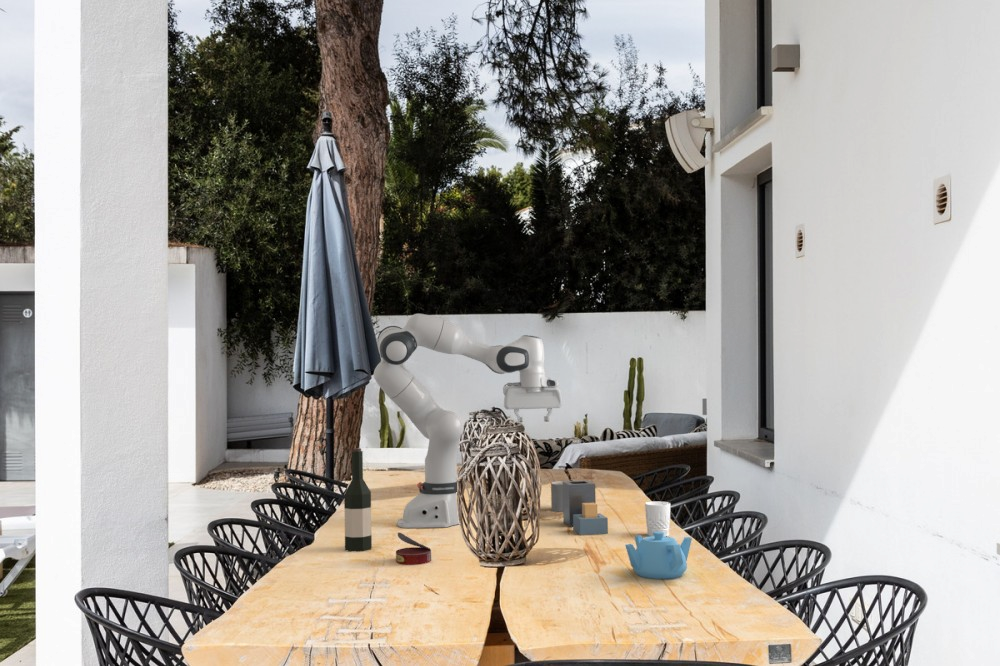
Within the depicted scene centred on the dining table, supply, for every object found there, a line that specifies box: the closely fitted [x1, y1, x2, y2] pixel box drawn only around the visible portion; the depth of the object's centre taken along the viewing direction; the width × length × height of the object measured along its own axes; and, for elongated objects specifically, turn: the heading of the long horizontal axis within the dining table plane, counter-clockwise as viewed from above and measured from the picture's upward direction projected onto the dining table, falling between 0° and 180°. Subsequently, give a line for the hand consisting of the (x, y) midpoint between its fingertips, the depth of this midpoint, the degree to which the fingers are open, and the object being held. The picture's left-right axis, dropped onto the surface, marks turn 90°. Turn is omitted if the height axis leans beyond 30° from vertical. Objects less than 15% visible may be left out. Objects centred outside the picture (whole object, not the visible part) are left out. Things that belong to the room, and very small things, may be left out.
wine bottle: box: [343, 447, 373, 552], centre depth 278 cm, size 8×8×30 cm
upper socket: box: [562, 480, 597, 528], centre depth 312 cm, size 9×9×14 cm
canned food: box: [395, 532, 432, 566], centre depth 260 cm, size 11×10×10 cm
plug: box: [582, 503, 598, 518], centre depth 298 cm, size 4×4×7 cm
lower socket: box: [572, 512, 609, 536], centre depth 298 cm, size 9×9×5 cm
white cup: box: [644, 500, 671, 537], centre depth 290 cm, size 8×8×10 cm
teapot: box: [625, 532, 693, 580], centre depth 239 cm, size 15×15×11 cm
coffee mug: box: [550, 480, 564, 513], centre depth 342 cm, size 13×10×10 cm
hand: (533, 421), depth 321 cm, fingers open, 8 cm apart
